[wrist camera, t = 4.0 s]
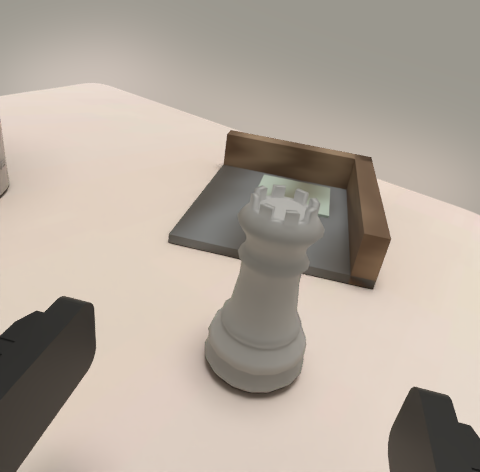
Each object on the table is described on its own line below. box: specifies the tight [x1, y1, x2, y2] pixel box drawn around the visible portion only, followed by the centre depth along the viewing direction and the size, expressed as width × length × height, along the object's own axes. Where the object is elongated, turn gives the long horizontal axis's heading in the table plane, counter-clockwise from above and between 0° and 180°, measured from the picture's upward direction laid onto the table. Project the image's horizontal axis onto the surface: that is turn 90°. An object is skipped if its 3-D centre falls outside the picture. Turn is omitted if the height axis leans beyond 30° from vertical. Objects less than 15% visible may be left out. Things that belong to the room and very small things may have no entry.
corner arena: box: [168, 130, 391, 289], centre depth 32 cm, size 13×16×4 cm
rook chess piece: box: [205, 184, 325, 393], centre depth 17 cm, size 4×4×8 cm
